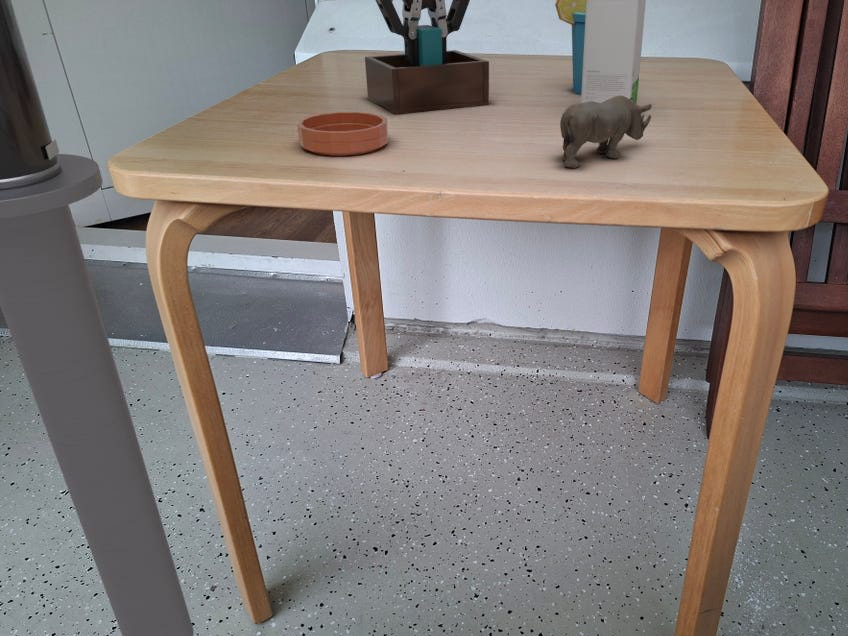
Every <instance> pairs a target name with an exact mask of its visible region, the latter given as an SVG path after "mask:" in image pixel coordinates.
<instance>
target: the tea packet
mask: <svg viewBox="0 0 848 636" xmlns="http://www.w3.org/2000/svg"><path fill="white" fill-rule="evenodd" d="M417 39H418V40H419V59H420V66H425V65H437V64H442V29H440V28H437V27H433V26H431V24H430V25H429V24H421V25H419V24H418V34H417Z"/></svg>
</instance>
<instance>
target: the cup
mask: <svg viewBox="0 0 848 636" xmlns="http://www.w3.org/2000/svg"><path fill="white" fill-rule="evenodd" d="M555 9H556V12H557V16H558V19H559V20H561V21H562V22H565V23H566V24H568V25H571V51H572V52H571V53H572V55H571V56H572V91H573V92H574V93H575V94H578V95H581V93H582V74H583V55H584V36H585V17H586V0H556V2H555Z"/></svg>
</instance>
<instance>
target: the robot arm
mask: <svg viewBox="0 0 848 636" xmlns="http://www.w3.org/2000/svg"><path fill="white" fill-rule="evenodd" d="M393 1H394V0H375V2H376V4H377V7H378V9H379V11H380V13H381V16H382V17H383V19H384V22H385V23H386V26H387V28H388V31H389V32H390V33H393V34H396V35H398V36H401V37H402V38H403V42H404V43H403V47H404V54H405V61H406V63H407V64H409V66H410V67H412V66H420V59H419V40H418V39H417V34H418V26H419V24H420V23H419V22H420V20H421V17H422V11H423V10H425V9H427V15H428V17H429V19H430V23H431V24H430V26H433V27H437V28H440V29H442V64H443V63H444V62H446V60H447V51H448V48H447V46H448V45H447V42H448V41H447V38H448V36H449V35H450V34H452V33H454V32H458V31H459V30H460V29H461V26H462V24H463V20H464V18H465V15H466V12H467V9H468V6H469V4H470V1H471V0H452V1H451V4H450V6H449V10H448V11H447V6H446V0H401V1H402V10H401V11H402V12H401V16H402V20H401V18H400V16H399V14H398V11H397V10H396V7H395V5H394V3H393ZM27 53H28V52H27V49H26V46H25V43H24V39H23V35H22V32H21V29H20V25H19V23H18V19H17V16H16V11H15V9H14V6H13V1H12V0H0V190H5V189H13V188H19V187H24V186H28V185H33V184H36V183H40V182H43V181H46V180H48V179H51V178H53V177H55V176H56V175H58V174H59V173H60V172H61V170H62V169H61V165H60V162H59V159H58V158H57V156H56V155H57V154H60V149H59V146H58V143H57V140H56V139H54V140H53V139H52V136H51V135H52V134H51V132H50V128H49V125H48V122H47V119H46V115H45V111H44V108H43V105H42V101H41V98H40V94H39V91H38V87H37V83H36V80H35V77H34V73H33V70H32V66H31V64H30V60H29V56H28V54H27Z"/></svg>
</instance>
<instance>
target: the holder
mask: <svg viewBox="0 0 848 636" xmlns="http://www.w3.org/2000/svg"><path fill="white" fill-rule="evenodd" d="M364 64H365V66H364V67H365V77H366V92H367V99H368V100H369V101H371V102H372V103H374V104H376V105H378V106H379V107H381V108H383V109H385V110H386V111H388V112H390V113H391V114H393V115H401V114H402V115H404V114H412V113H419V112H421V113H422V112H429V111H430V112H431V111H441V110H448V109H449V110H450V109H456V108H457V109H459V108H467V107H478V106H487V105H489V103H490V94H489V93H490V91H489V90H490V61H489V60H486V59H483V58H481V57H477V56H474V55H471V54H468V53H465V52H462V51H460V50H457V49H453V50H447V60H446V62H444V63H443V64H437V65H425V66H412V67H410V66H409V64H407V63H406V61H405V53H399V54H397V53H396V54H385V55H372V56H371V55H369V56H364Z"/></svg>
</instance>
